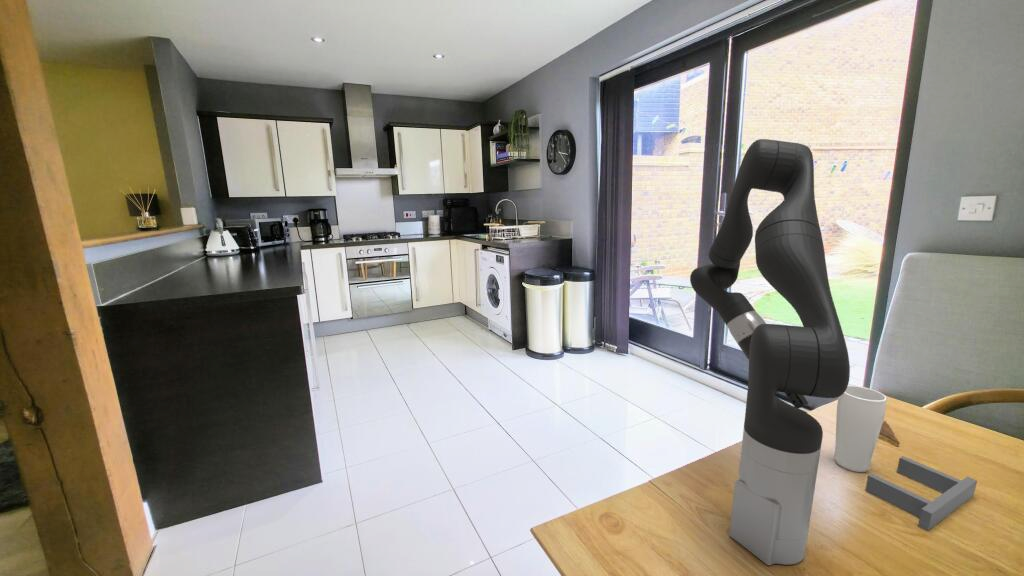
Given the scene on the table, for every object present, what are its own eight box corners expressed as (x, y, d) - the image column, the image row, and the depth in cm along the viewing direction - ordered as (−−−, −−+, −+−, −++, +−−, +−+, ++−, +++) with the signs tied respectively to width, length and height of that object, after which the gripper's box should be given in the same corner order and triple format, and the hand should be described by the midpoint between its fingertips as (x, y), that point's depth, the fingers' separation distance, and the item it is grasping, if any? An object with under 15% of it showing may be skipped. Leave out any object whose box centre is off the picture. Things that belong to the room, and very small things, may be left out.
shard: (899, 450, 84) (900, 442, 84) (851, 439, 88) (852, 432, 87) (885, 426, 93) (886, 418, 93) (843, 417, 97) (844, 410, 97)
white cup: (875, 464, 79) (888, 392, 76) (873, 481, 74) (887, 404, 71) (831, 450, 83) (841, 381, 80) (826, 465, 78) (837, 393, 75)
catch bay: (928, 530, 62) (931, 513, 62) (858, 494, 70) (861, 479, 70) (973, 496, 70) (977, 480, 69) (905, 466, 78) (908, 452, 77)
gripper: (746, 331, 88) (799, 407, 80) (783, 322, 94) (836, 393, 85) (722, 347, 94) (769, 420, 85) (758, 338, 100) (806, 405, 91)
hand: (802, 406), depth 86 cm, fingers closed
